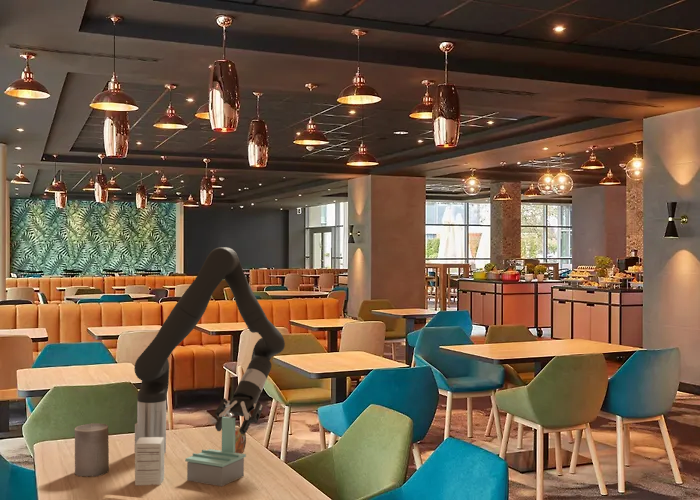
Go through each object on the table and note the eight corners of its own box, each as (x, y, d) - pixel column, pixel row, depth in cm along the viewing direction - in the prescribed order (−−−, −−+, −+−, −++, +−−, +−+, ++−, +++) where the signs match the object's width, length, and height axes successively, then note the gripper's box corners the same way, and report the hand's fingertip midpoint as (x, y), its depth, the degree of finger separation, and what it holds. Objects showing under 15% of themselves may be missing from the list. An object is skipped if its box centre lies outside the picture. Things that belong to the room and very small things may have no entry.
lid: (185, 461, 220) (185, 423, 220) (211, 450, 232) (212, 415, 232) (222, 467, 214) (222, 428, 215) (247, 456, 226) (247, 419, 226)
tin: (231, 461, 243) (231, 435, 243) (221, 461, 244) (221, 434, 244) (246, 449, 258) (247, 424, 258) (237, 449, 258) (238, 424, 258)
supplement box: (138, 480, 222) (139, 436, 222) (164, 479, 223) (165, 436, 223) (133, 488, 215) (134, 443, 215) (160, 487, 216) (161, 443, 216)
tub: (187, 483, 220) (187, 462, 220) (209, 473, 230) (210, 453, 230) (221, 488, 215) (222, 467, 215) (243, 478, 225) (243, 458, 225)
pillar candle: (99, 466, 237) (99, 417, 237) (114, 472, 230) (114, 422, 230) (68, 472, 230) (68, 422, 230) (83, 479, 223) (83, 428, 223)
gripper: (226, 377, 240) (204, 421, 229) (265, 381, 234) (244, 426, 223) (236, 392, 244) (214, 435, 234) (274, 395, 238) (254, 440, 228)
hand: (229, 431), depth 229 cm, fingers open, 8 cm apart
